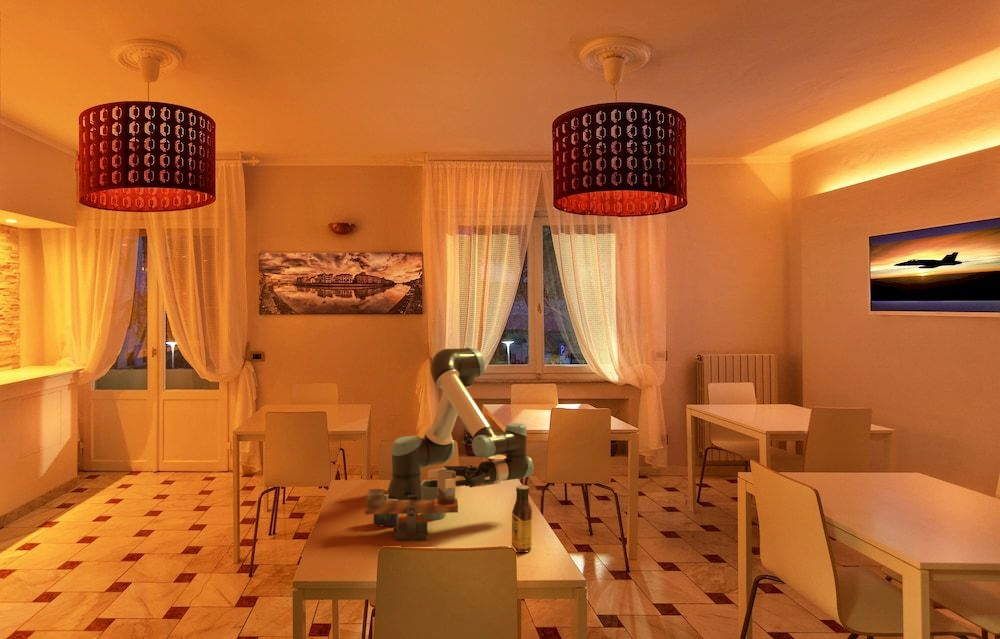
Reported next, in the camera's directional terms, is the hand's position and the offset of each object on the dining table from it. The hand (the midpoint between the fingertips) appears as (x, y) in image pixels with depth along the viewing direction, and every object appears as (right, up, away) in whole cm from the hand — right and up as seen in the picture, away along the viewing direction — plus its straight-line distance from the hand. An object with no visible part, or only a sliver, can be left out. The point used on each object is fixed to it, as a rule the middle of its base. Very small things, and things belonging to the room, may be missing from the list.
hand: (436, 479), depth 199 cm
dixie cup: (+19, -19, +65) cm, 71 cm away
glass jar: (+3, -8, +2) cm, 9 cm away
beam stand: (-8, -18, 0) cm, 20 cm away
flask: (-19, -18, +9) cm, 28 cm away
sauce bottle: (+28, -19, -13) cm, 36 cm away
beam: (-8, -10, 0) cm, 13 cm away
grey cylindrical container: (-3, -19, +18) cm, 26 cm away
